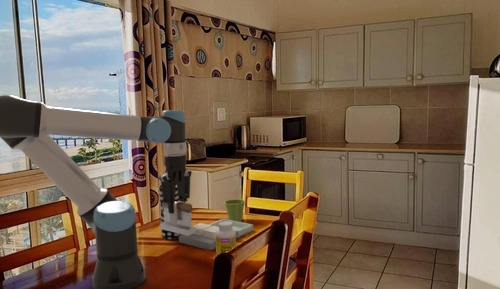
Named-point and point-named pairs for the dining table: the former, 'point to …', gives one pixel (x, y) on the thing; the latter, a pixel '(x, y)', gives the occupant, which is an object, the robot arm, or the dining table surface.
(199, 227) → the tile left
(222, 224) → the supplement bottle
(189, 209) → the scraper
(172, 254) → the dining table surface
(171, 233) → the spotted tube
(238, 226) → the tray
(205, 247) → the board
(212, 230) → the tile right
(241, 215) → the plant pot
